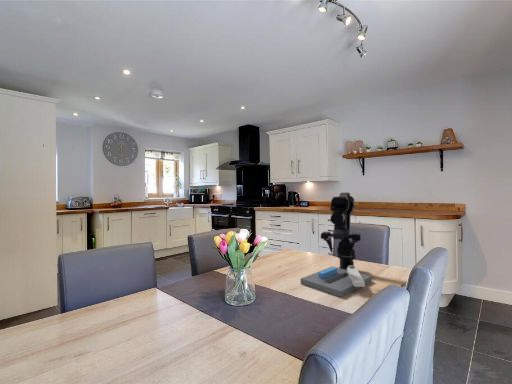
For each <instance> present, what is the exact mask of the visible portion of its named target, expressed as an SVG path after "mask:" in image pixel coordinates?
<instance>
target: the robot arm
mask: <svg viewBox="0 0 512 384" xmlns="http://www.w3.org/2000/svg"><path fill="white" fill-rule="evenodd" d="M355 203H356V202H355V198H354V197H353V196H351V193H350V192H340V193H339V195H338V196H333V197H332V198H331V203H330V212H333V213H332V214H331V215H330V219H329V220H330V222H331V223H332V224H333V225H334V227H333V231H332V233H331V231H323V232H322V233H320V239H322V240H323V241H324V242H326V243H327V245H328V248H329V250H330V253H333V242H332V239H333V240H340V241H338V245H337V246H338V247H336V250H337V251H336V253H337V259H339V267H338V268H340V269H344V270H347V268H348V266H349V265H353V266H355V264H354V263H355V262H354V260H355V259H356V250H355V248H354V247H355V245H356V243H358V242H360V241H361V240H362V234H361V233H360V232H352V233H351V216H352V214H353V213H354V210H355V208H356V205H355Z"/></svg>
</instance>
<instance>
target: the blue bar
mask: <svg viewBox="0 0 512 384" xmlns="http://www.w3.org/2000/svg"><path fill="white" fill-rule="evenodd" d="M331 267H332V268H330V267H328V268H329V269H327V268H326V269H327V270H324V269H323V270H324V271H322V270H321V271H322V272H319V271H318V272H319V273H318V274H319V278H322V279H324V278H326V277H328V276H331V275H333V274H336V273H337V268H338V267H336V266H331ZM335 267H336V268H335Z"/></svg>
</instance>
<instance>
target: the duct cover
mask: <svg viewBox="0 0 512 384" xmlns="http://www.w3.org/2000/svg"><path fill="white" fill-rule="evenodd" d="M347 273H348V275H349V277H350V279H351V281H352V283H353V285H354V287H360V288H365V287H366V285H365V282H364V280H363V278H362V277H361V275H360V273H361V272H359V270H358V268H357V267H356V266H355V265H354V266H353V265H349V266H348V268H347Z"/></svg>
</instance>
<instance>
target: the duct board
mask: <svg viewBox="0 0 512 384" xmlns="http://www.w3.org/2000/svg"><path fill="white" fill-rule="evenodd" d="M332 267H333V266H330V267H328V268H325V269H322V270H319V271H317V272H315V273H311V274H309V275H305V276H303V277H301V278H300V285H304V286H305V287H309V288H313V289H314V290H319V291H322V292H324V293H328V294H330V295H333V296H336V297H338V298H342V297H345V296H346V295H348V294H350V293H353V292H355V291H356V290H358V289H360V288H361V287H354V285H353V283H352V281H351V279H350V277H349V275H348V273H347V270H344V269H340V268H339V267H336V266H334V267H335V268H337V273H336V274H333V275H331V276H328V277H326V278H324V279H322V278H319V274H318V273H319V272H322V271H324V270H327V269H329V268H332ZM359 273H360V275H361V277H362V278H363V280H364V282H365V286H366V285H368V284H369V283H371V282H373V281H372V279H373V277H372V275H368V274H364V273H361V272H359Z"/></svg>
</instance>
